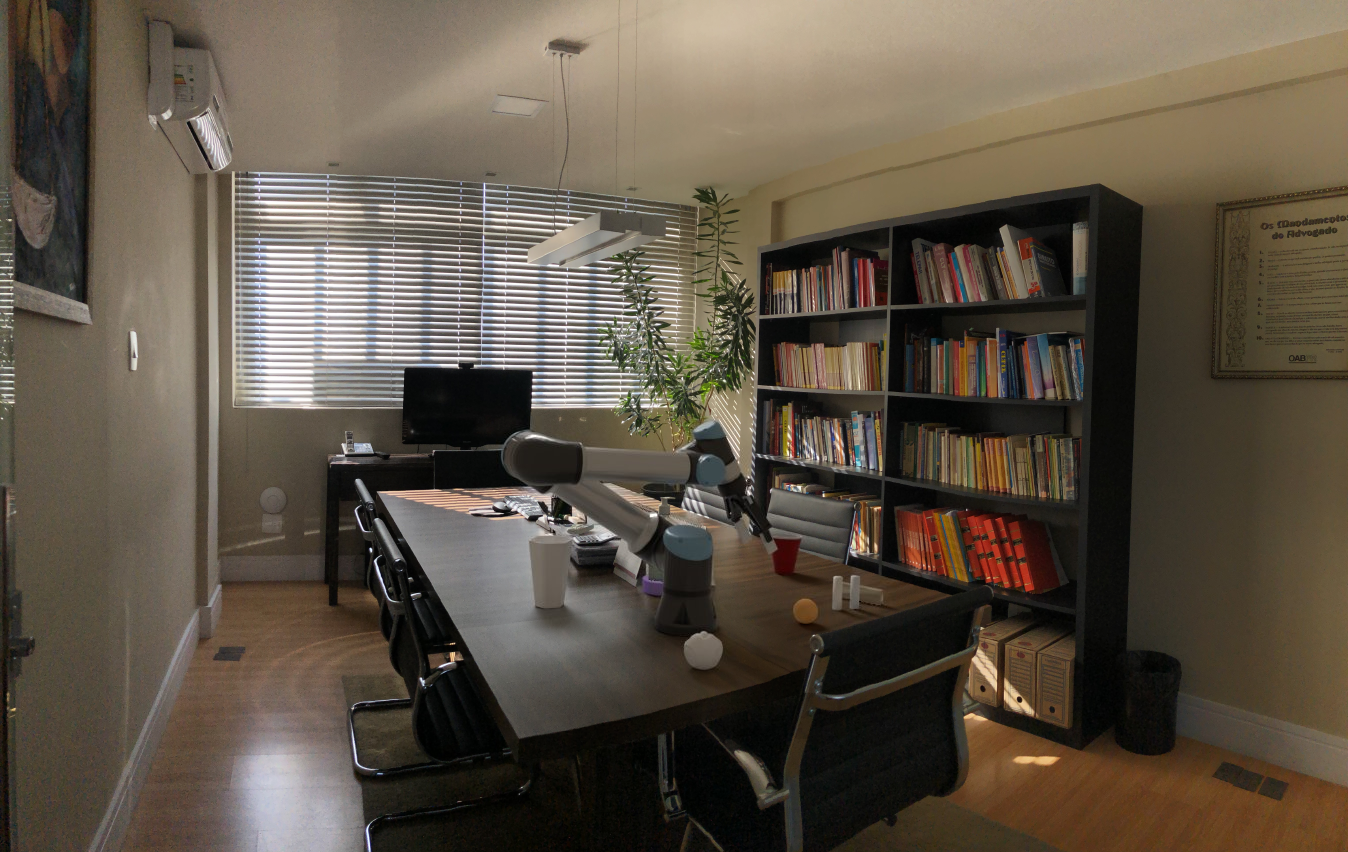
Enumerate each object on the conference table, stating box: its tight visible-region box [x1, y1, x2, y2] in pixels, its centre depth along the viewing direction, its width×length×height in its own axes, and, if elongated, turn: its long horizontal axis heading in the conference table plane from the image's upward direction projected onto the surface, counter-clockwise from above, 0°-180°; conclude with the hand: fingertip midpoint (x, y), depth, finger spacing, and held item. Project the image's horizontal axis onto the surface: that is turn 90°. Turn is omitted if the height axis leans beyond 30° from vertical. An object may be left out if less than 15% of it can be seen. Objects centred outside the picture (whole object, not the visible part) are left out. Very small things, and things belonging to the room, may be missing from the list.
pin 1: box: [831, 575, 844, 611], centre depth 210 cm, size 2×2×8 cm
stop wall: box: [831, 581, 884, 606], centre depth 220 cm, size 2×14×4 cm, turn 52°
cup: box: [528, 534, 574, 610], centre depth 206 cm, size 11×10×17 cm
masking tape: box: [642, 574, 663, 597], centre depth 225 cm, size 12×12×4 cm
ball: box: [792, 598, 819, 625], centre depth 197 cm, size 6×6×6 cm
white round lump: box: [683, 631, 724, 671], centre depth 164 cm, size 8×8×8 cm
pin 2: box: [849, 574, 861, 610], centre depth 212 cm, size 2×2×8 cm
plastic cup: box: [771, 533, 804, 576], centre depth 250 cm, size 11×11×12 cm
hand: (760, 546), depth 214 cm, fingers open, 13 cm apart
